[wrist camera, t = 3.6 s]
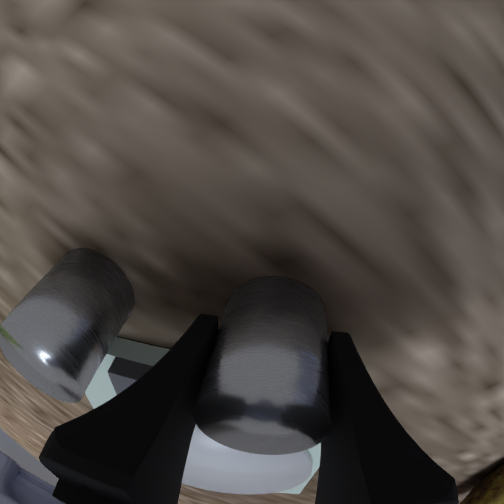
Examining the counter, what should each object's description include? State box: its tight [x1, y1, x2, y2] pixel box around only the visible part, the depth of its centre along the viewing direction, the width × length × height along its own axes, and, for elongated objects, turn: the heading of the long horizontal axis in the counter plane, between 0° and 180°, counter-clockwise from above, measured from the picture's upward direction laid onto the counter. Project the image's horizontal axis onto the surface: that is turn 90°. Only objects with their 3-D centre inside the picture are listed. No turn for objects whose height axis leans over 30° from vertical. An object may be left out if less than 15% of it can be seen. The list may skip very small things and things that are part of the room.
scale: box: [85, 337, 321, 494], centre depth 18 cm, size 16×15×2 cm
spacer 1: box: [0, 248, 135, 403], centre depth 11 cm, size 4×4×5 cm
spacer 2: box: [193, 276, 330, 455], centre depth 11 cm, size 4×4×5 cm
